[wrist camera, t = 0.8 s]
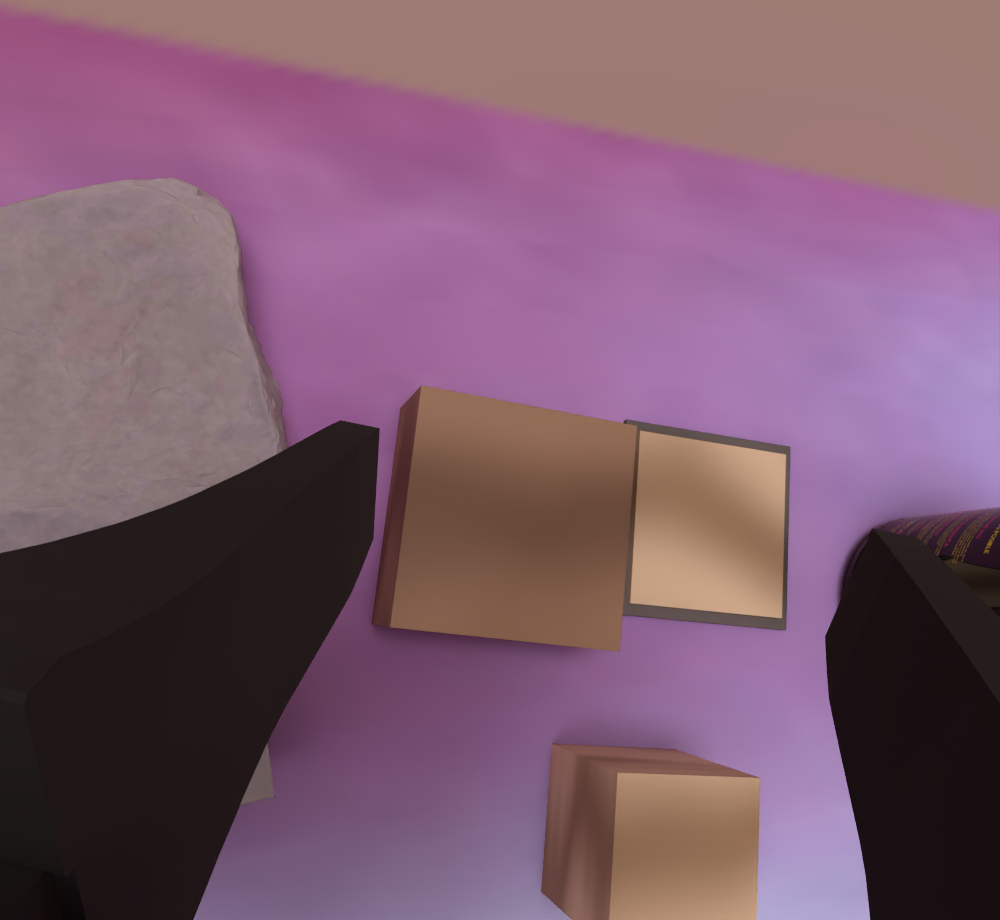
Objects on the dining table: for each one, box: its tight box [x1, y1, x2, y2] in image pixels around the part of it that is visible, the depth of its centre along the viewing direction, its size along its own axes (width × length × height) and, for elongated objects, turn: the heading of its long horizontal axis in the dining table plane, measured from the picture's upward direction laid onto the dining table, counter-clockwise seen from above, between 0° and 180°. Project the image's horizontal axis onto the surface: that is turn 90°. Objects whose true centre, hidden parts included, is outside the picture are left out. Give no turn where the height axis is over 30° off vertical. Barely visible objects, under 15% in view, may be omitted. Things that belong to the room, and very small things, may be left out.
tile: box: [622, 420, 790, 630], centre depth 31 cm, size 7×7×1 cm
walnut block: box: [372, 385, 637, 652], centre depth 27 cm, size 7×7×4 cm
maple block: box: [541, 744, 760, 920], centre depth 26 cm, size 4×4×5 cm
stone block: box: [0, 178, 287, 553], centre depth 24 cm, size 12×5×10 cm
